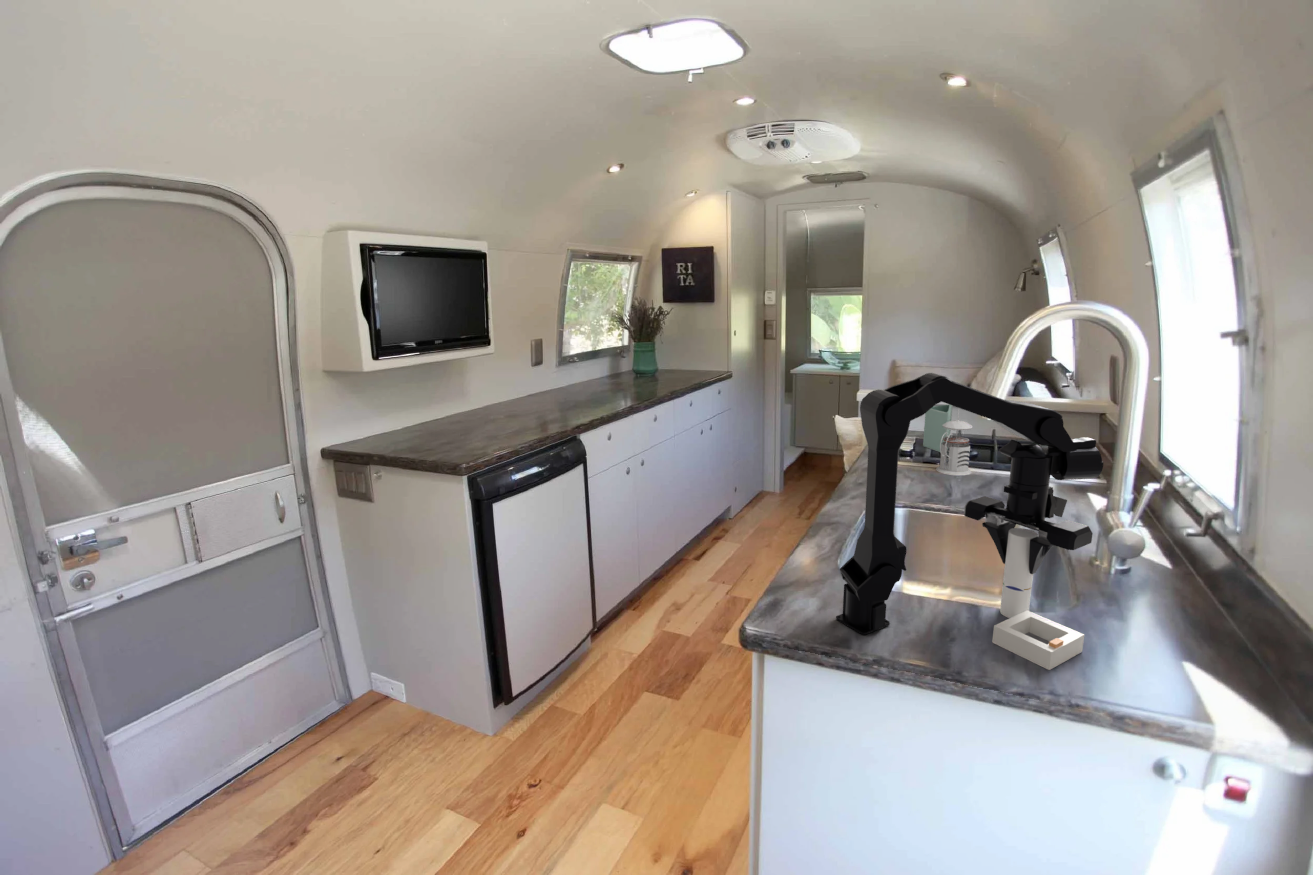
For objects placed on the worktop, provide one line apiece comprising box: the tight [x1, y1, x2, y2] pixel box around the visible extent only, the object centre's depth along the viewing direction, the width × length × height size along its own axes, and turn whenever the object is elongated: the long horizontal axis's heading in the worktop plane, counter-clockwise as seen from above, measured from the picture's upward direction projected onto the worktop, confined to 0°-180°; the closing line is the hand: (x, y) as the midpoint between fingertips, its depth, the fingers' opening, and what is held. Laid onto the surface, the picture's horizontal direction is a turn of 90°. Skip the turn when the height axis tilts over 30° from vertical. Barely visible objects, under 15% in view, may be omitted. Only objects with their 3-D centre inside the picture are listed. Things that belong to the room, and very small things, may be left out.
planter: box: [922, 404, 954, 453], centre depth 219 cm, size 16×8×20 cm, turn 153°
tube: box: [999, 527, 1038, 619], centre depth 111 cm, size 4×4×15 cm
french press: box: [935, 408, 973, 476], centre depth 191 cm, size 10×12×25 cm
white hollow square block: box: [991, 610, 1085, 671], centre depth 102 cm, size 9×9×4 cm
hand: (1019, 568), depth 111 cm, fingers closed on tube, 4 cm apart
